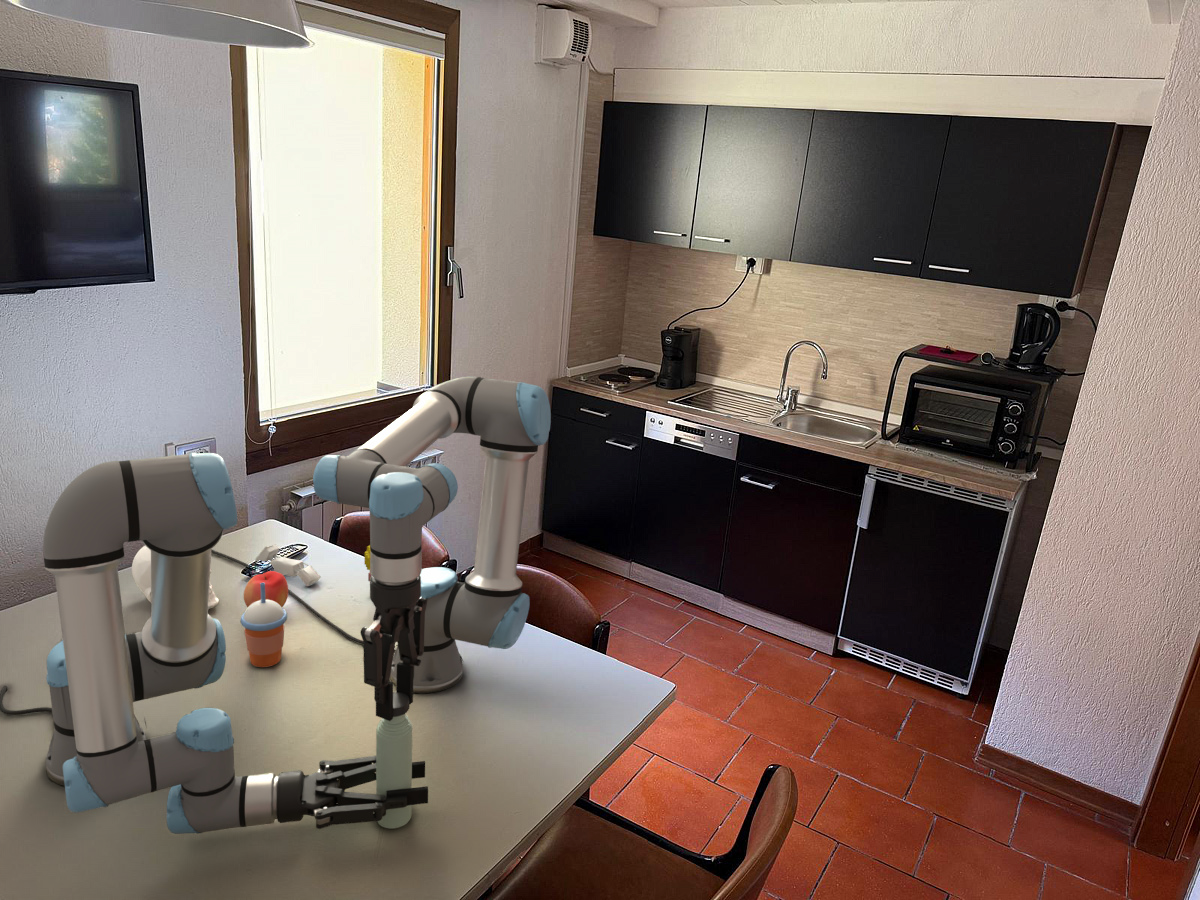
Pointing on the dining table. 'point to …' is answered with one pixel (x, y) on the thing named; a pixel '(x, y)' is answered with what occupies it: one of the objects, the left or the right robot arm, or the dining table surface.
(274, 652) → the cup with straw
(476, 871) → the dining table surface
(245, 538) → the dining table surface
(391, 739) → the bottle
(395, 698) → the cap
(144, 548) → the skull
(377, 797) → the left robot arm
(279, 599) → the apple
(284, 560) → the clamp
